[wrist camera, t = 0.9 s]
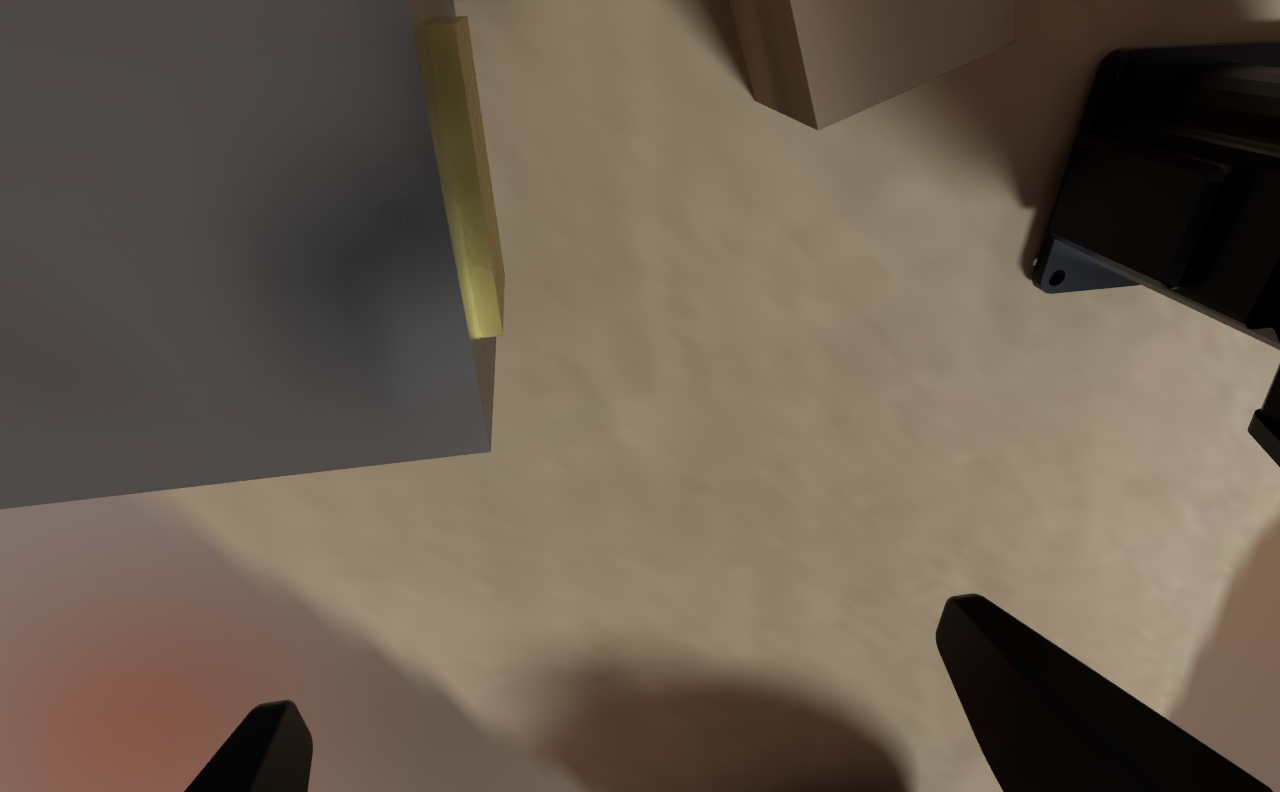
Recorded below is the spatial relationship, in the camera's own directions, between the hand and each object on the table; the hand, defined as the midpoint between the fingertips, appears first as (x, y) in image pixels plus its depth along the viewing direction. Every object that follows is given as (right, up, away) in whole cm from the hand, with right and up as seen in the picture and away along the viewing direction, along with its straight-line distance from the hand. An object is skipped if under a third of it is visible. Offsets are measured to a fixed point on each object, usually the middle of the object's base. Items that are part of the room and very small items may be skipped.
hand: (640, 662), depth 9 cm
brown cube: (+4, +13, +6) cm, 15 cm away
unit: (-9, +9, +6) cm, 14 cm away
